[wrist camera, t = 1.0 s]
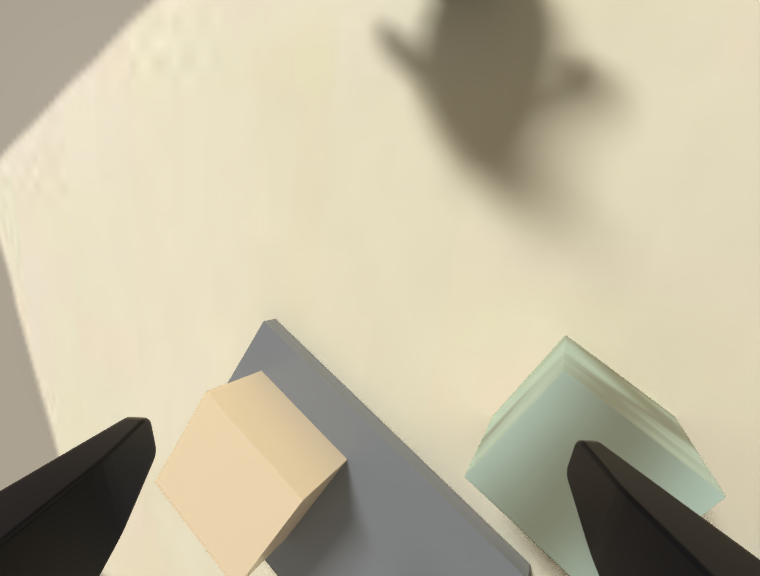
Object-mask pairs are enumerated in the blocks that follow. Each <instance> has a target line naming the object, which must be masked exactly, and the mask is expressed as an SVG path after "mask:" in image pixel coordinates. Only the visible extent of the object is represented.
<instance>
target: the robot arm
mask: <svg viewBox="0 0 760 576" xmlns="http://www.w3.org/2000/svg"><path fill="white" fill-rule="evenodd" d="M155 453H156V446H155V441H154V436H153V431H152V426H151V422H150V420H149V419H147V418H142V417H127V418H125V419H123V420H121V421H119V422H118V423H116V424H114V425H113V426H111V427H109V428H107V429H106V430H104V431H102V432H101V433H99V434H97V435H95V436H94V437H92V438H90V439H89V440H87V441H85V442H83V443H82V444H80V445H78V446H77V447H75V448H73V449H71V450H70V451H68V452H66V453H65V454H63V455H61V456H59V457H58V458H56V459H54V460H53V461H51V462H49V463H47V464H46V465H44V466H42V467H41V468H39V469H37V470H35V471H34V472H32V473H30V474H29V475H27V476H25V477H23V478H22V479H20V480H18V481H17V482H15V483H13V484H11V485H10V486H8V487H6V488H5V489H3V490H1V491H0V576H99V575H100V574H101V572H102V570H103V568H104V566H105V564H106V563H107V561H108V559H109V557H110V555H111V554H112V552H113V550H114V548H115V546H116V544H117V542H118V540H119V538H120V536H121V535H122V532H123V530H124V528H125V526H126V524H127V522H128V519H129V517H130V515H131V512H132V510H133V508H134V505H135V503H136V501H137V498H138V496H139V494H140V491H141V489H142V486H143V484H144V482H145V479H146V477H147V475H148V472H149V470H150V468H151V465H152V463H153V461H154V458H155ZM567 479H568V483H569V486H570V489H571V492H572V496H573V499H574V502H575V506H576V509H577V512H578V515H579V519H580V522H581V525H582V529H583V532H584V535H585V539H586V542H587V545H588V548H589V551H590V554H591V556H592V559H593V562H594V564H595V567H596V569H597V572H598V574H599V576H760V560H759V559H758V558H757V557H755V556H754V555H753V554H751V553H750V552H749V551H747V550H746V549H744V548H743V547H742V546H740V545H739V544H738V543H736V542H735V541H734V540H732V539H731V538H729V537H728V536H727V535H725V534H724V533H723V532H721V531H720V530H719V529H717V528H716V527H715V526H713V525H712V524H710V523H709V522H708V521H706V520H705V519H704V518H702V517H701V516H700V515H698V514H697V513H696V512H694V511H693V510H691V509H690V508H689V507H687V506H686V505H685V504H683V503H682V502H681V501H679V500H678V499H676V498H675V497H674V496H672V495H671V494H670V493H668V492H667V491H666V490H664V489H663V488H662V487H660V486H659V485H657V484H656V483H655V482H653V481H652V480H651V479H649V478H648V477H647V476H645V475H644V474H643V473H641V472H640V471H638V470H637V469H636V468H634V467H633V466H632V465H630V464H629V463H628V462H626V461H625V460H623V459H622V458H621V457H619V456H618V455H617V454H615V453H614V452H613V451H611V450H610V449H609V448H607V447H606V446H604V445H603V444H602V443H600V442H598V441H595V440H578V441H577V442H576V443H575V445H574V448H573V451H572V454H571V458H570V461H569V464H568V467H567Z"/></svg>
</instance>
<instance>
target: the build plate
mask: <svg viewBox="0 0 760 576" xmlns="http://www.w3.org/2000/svg"><path fill="white" fill-rule="evenodd" d="M155 484H156V485H157V486H158V487H159V489H160V490H161V491H162V493H163V494H164V495H165V497H166V498H167V499H168V501H169V502H170V503H171V504H172V506H173V507H174V508H175V510H176V511H177V512H178V514H179V515H180V516H181V518H182V519H183V520H184V522H185V523H186V524H187V525H188V527H189V528H190V529H191V531H192V532H193V533H194V535H195V536H196V537H197V539H198V540H199V541H200V542H201V544H202V545H203V546H204V548H205V549H206V550H207V552H208V553H209V554H210V556H211V557H212V558H213V559H214V561H215V562H216V563H217V565H218V566H219V567H220V569H221V570H222V571H223V573H224V574H225V575H226V576H249V575H250V574H251V573H252V572H253V571H254V570H255V569H256V568H257V567H258V566H259V565H260V564H261V563H262V562H263V561H264V560H266V562H267V563H268V564H269V565H270V567H271V568H272V569H273V570H274V572H275V573H276V574H277V575H278V576H529V570H530V564H529V563H528V562H527V561H526V560H525V559H524V558H523V557H522V556H521V555H520V554H519V553H518V552H517V551H516V550H514V549H513V548H512V547H511V546H510V545H509V544H508V543H507V542H506V541H505V540H504V539H503V538H502V537H501V536H500V535H499V534H498V533H497V532H496V531H495V530H494V529H493V528H492V527H491V526H490V525H489V524H488V523H486V522H485V521H484V520H483V519H482V518H481V517H480V516H479V515H478V514H477V513H476V512H475V511H474V510H473V509H472V508H471V507H470V506H469V505H468V504H467V503H466V502H465V501H464V500H463V499H462V498H461V497H459V496H458V495H457V494H456V493H455V492H454V491H453V490H452V489H451V488H450V487H449V486H448V485H447V484H446V483H445V482H444V481H443V480H442V479H441V478H440V477H439V476H438V475H437V474H436V473H435V472H434V471H433V470H431V469H430V468H429V467H428V466H427V465H426V464H425V463H424V462H423V461H422V460H421V459H420V458H419V457H418V456H417V455H416V454H415V453H414V452H413V451H412V450H411V449H410V448H409V447H408V446H407V445H406V444H404V443H403V442H402V441H401V440H400V439H399V438H398V437H397V436H396V435H395V434H394V433H393V432H392V431H391V430H390V429H389V428H388V427H387V426H386V425H385V424H384V423H383V422H382V421H381V420H380V419H379V418H378V417H376V416H375V415H374V414H373V413H372V412H371V411H370V410H369V409H368V408H367V407H366V406H365V405H364V404H363V403H362V402H361V401H360V400H359V399H358V398H357V397H356V396H355V395H354V394H353V393H352V392H351V391H349V390H348V389H347V388H346V387H345V386H344V385H343V384H342V383H341V382H340V381H339V380H338V379H337V378H336V377H335V376H334V375H333V374H332V373H331V372H330V371H329V370H328V369H327V368H326V367H325V366H324V365H323V364H321V363H320V362H319V361H318V360H317V359H316V358H315V357H314V356H313V355H312V354H311V353H310V352H309V351H308V350H307V349H306V348H305V347H304V346H303V345H302V344H301V343H300V342H299V341H298V340H297V339H296V338H294V337H293V336H292V335H291V334H290V333H289V332H288V331H287V330H286V329H285V328H284V327H283V326H282V325H281V324H280V323H279V322H278V321H277V320H276V319H272V320H268V321H264V322H263V323H262V325H261V327H260V329H259V330H258V332H257V334H256V335H255V337H254V339H253V341H252V342H251V344H250V346H249V347H248V349H247V351H246V353H245V354H244V356H243V358H242V359H241V361H240V363H239V365H238V366H237V368H236V370H235V371H234V373H233V375H232V377H231V378H230V380H229V382H228V383H227V384H225V385H222V386H220V387H217V388H214V389H212V390H209V391H206V392H205V394H204V396H203V398H202V399H201V401H200V403H199V405H198V407H197V408H196V410H195V412H194V414H193V415H192V417H191V419H190V421H189V422H188V424H187V426H186V428H185V430H184V431H183V433H182V435H181V437H180V438H179V440H178V442H177V444H176V445H175V447H174V449H173V451H172V453H171V454H170V456H169V458H168V460H167V461H166V463H165V465H164V467H163V468H162V470H161V472H160V474H159V476H158V477H157V479H156V481H155Z"/></svg>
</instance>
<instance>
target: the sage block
mask: <svg viewBox="0 0 760 576" xmlns="http://www.w3.org/2000/svg"><path fill="white" fill-rule="evenodd" d="M578 440H595V441H598V442H600V443H602V444H603V445H604V446H606V447H607V448H609V449H610V450H611V451H613V452H614V453H615V454H617V455H618V456H619V457H621V458H622V459H623V460H625V461H626V462H628V463H629V464H630V465H632V466H633V467H634V468H636V469H637V470H638V471H640V472H641V473H643V474H644V475H645V476H647V477H648V478H649V479H651V480H652V481H653V482H655V483H656V484H657V485H659V486H660V487H662V488H663V489H664V490H666V491H667V492H668V493H670V494H671V495H672V496H674V497H675V498H676V499H678V500H679V501H681V502H682V503H683V504H685V505H686V506H687V507H689V508H690V509H691V510H693V511H694V512H696V513H697V514H698V515H700V516H702V515H703V514H705V513H706V512H707V511H708V510H710V509H711V508H712V507H714V506H715V505H716V504H717V503H719V502H720V501H721V500H722V499H724V498H725V497H726V495H725V494H724V492H723V491H722V489H721V488H720V486H719V485H718V483H717V481H716V480H715V478H714V477H713V475H712V474H711V472H710V471H709V469H708V467H707V466H706V464H705V463H704V461H703V460H702V458H701V457H700V455H699V453H698V452H697V450H696V449H695V447H694V446H693V444H692V443H691V441H690V439H689V438H688V436H687V435H686V433H685V432H684V430H683V429H682V427H681V425H680V424H679V422H678V421H677V419H676V418H675V416H673V415H672V414H671V413H669V412H668V411H667V410H665V409H664V408H663V407H661V406H660V405H659V404H657V403H656V402H655V401H653V400H652V399H651V398H649V397H648V396H647V395H645V394H644V393H643V392H641V391H640V390H639V389H637V388H636V387H635V386H633V385H632V384H631V383H629V382H628V381H627V380H625V379H624V378H623V377H621V376H620V375H619V374H617V373H616V372H615V371H613V370H612V369H611V368H609V367H608V366H607V365H605V364H604V363H603V362H601V361H600V360H599V359H597V358H596V357H595V356H593V355H592V354H590V353H589V352H588V351H586V350H585V349H584V348H582V347H581V346H580V345H578V344H577V343H576V342H574V341H573V340H572V339H570V338H569V337H568V336H566V335H565V336H564V337H563V339H562V340H561V341H560V342H559V343H558V344H557V345H556V346H555V347H554V349H553V350H552V351H551V352H550V353H549V354H548V355H547V356H546V357H545V359H544V360H543V361H542V362H541V363H540V364H539V365H538V366H537V367H536V369H535V370H534V371H533V372H532V373H531V374H530V375H529V376H528V377H527V379H526V380H525V381H524V382H523V383H522V384H521V385H520V386H519V387H518V389H517V390H516V391H515V392H514V393H513V394H512V395H511V396H510V397H509V399H508V400H507V401H506V402H505V403H504V404H503V405H502V406H501V407H500V409H499V410H498V411H497V412H496V413H495V414H494V416H493V418H492V420H491V422H490V424H489V426H488V428H487V431H486V433H485V435H484V437H483V439H482V441H481V443H480V445H479V447H478V450H477V452H476V454H475V456H474V458H473V460H472V462H471V464H470V466H469V469H468V471H467V473H466V475H465V478H466V479H468V480H469V481H470V482H471V483H472V484H473V485H474V486H475V487H476V488H477V489H478V490H479V491H480V492H481V493H482V494H483V495H485V496H486V497H487V498H488V499H489V500H490V501H491V502H492V503H493V504H494V505H495V506H496V507H497V508H498V509H499V510H500V511H502V512H503V513H504V514H505V515H506V516H507V517H508V518H509V519H510V520H511V521H512V522H513V523H514V524H515V525H516V526H517V527H519V528H520V529H521V530H522V531H523V532H524V533H525V534H526V535H527V536H528V537H529V538H530V539H531V540H532V541H533V542H534V543H536V544H537V545H538V546H539V547H540V548H541V549H542V550H543V551H544V552H545V553H546V554H547V555H548V556H549V557H550V558H551V559H553V560H554V561H555V562H556V563H557V564H558V565H559V566H560V567H561V568H562V569H563V570H564V571H565V572H566V573H567V574H568V575H570V576H599V574H598V572H597V569H596V567H595V564H594V562H593V559H592V556H591V554H590V551H589V548H588V545H587V542H586V539H585V535H584V532H583V529H582V525H581V522H580V519H579V515H578V512H577V509H576V506H575V502H574V499H573V496H572V492H571V489H570V486H569V483H568V479H567V467H568V464H569V461H570V458H571V454H572V451H573V448H574V445H575V443H576V442H577V441H578Z"/></svg>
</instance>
